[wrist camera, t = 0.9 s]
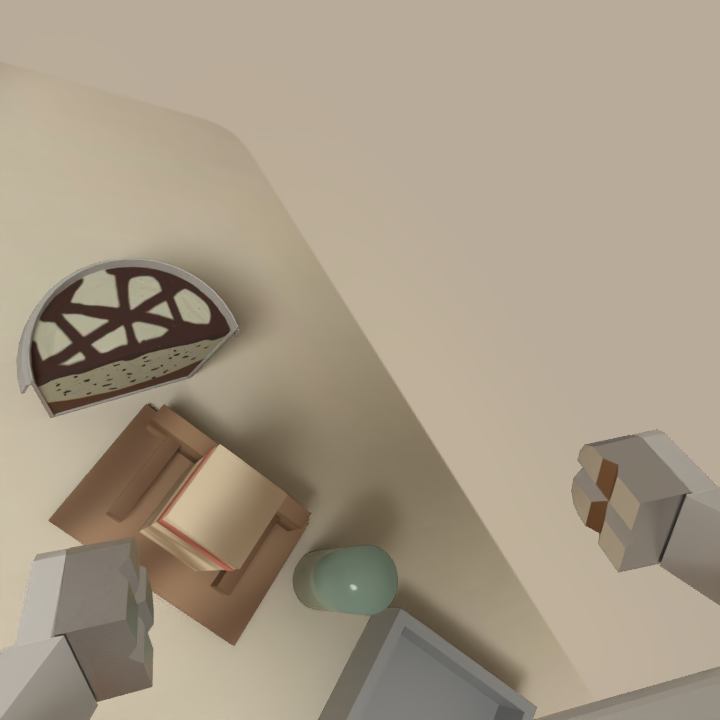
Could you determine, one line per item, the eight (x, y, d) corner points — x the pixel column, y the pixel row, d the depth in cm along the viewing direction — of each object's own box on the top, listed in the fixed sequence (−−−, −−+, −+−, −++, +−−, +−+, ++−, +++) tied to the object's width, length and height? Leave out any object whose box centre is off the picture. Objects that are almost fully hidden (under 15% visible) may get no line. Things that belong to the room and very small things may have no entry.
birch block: (137, 531, 41) (164, 517, 31) (182, 472, 43) (219, 442, 34) (196, 572, 42) (240, 570, 32) (237, 512, 44) (289, 493, 34)
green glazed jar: (282, 589, 44) (325, 591, 37) (312, 539, 46) (358, 531, 39) (327, 621, 45) (378, 629, 38) (355, 570, 47) (408, 568, 40)
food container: (181, 295, 47) (211, 232, 39) (210, 372, 47) (247, 324, 38) (-4, 336, 41) (-17, 271, 33) (25, 425, 41) (19, 383, 32)
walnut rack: (48, 521, 40) (48, 515, 36) (145, 406, 44) (152, 392, 41) (231, 644, 42) (246, 650, 39) (305, 523, 46) (324, 519, 43)
